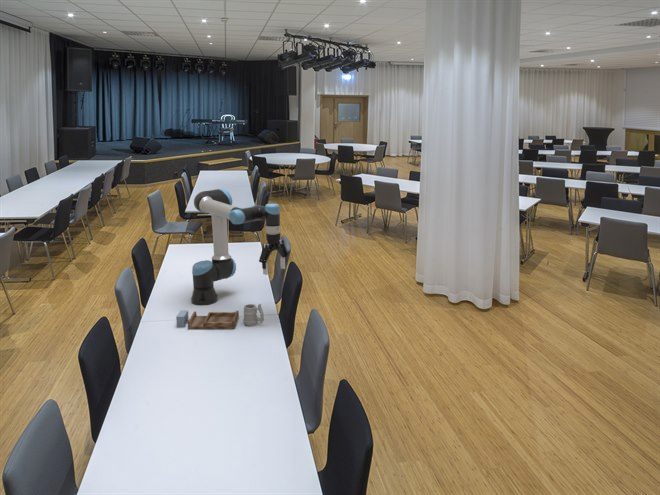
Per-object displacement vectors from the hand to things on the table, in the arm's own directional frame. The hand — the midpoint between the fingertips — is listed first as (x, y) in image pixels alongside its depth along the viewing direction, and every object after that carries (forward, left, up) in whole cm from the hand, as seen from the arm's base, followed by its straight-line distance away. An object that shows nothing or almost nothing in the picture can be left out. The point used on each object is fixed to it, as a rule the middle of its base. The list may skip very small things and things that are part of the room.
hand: (274, 271), depth 296 cm
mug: (0, -16, -26) cm, 30 cm away
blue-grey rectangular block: (-30, -39, -26) cm, 56 cm away
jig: (-17, -29, -26) cm, 42 cm away
